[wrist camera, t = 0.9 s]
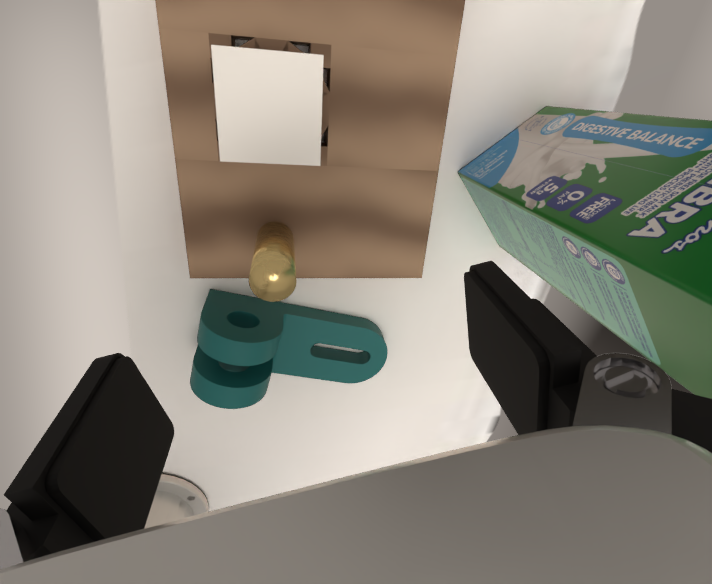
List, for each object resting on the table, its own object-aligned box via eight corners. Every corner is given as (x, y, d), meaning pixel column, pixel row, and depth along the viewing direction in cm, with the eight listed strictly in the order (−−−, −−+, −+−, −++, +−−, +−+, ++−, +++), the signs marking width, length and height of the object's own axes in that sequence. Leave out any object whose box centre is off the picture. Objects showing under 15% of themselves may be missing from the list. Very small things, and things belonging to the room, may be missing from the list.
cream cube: (314, 151, 31) (320, 166, 25) (231, 147, 30) (219, 161, 24) (316, 60, 28) (323, 54, 23) (225, 52, 27) (210, 44, 22)
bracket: (200, 347, 40) (182, 403, 33) (210, 287, 37) (193, 334, 30) (371, 373, 45) (387, 427, 38) (391, 322, 42) (412, 369, 35)
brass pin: (293, 256, 34) (296, 301, 27) (257, 256, 34) (249, 302, 27) (294, 221, 33) (296, 259, 26) (255, 221, 32) (247, 259, 25)
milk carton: (499, 247, 40) (766, 451, 18) (456, 171, 36) (735, 315, 14) (581, 190, 38) (983, 335, 16) (547, 104, 34) (1021, 144, 12)
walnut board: (413, 266, 39) (421, 277, 37) (195, 266, 36) (190, 278, 34) (462, -67, 28) (477, -80, 26) (151, -114, 25) (138, -133, 22)
